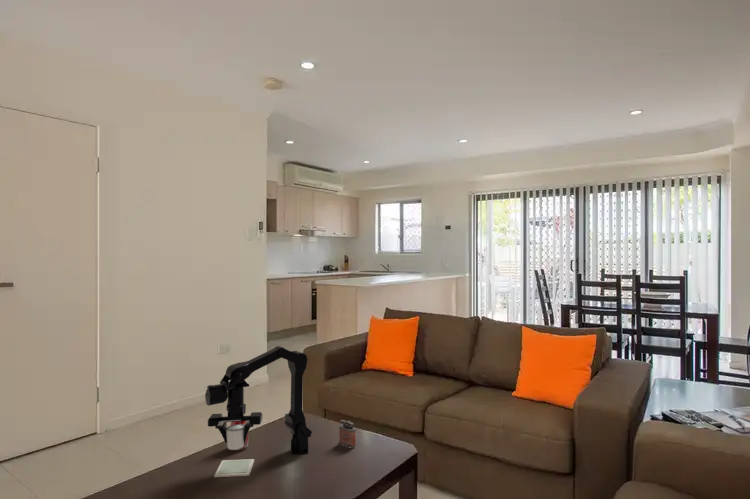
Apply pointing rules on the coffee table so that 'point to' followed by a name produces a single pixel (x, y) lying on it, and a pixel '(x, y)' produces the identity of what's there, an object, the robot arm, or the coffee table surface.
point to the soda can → (247, 435)
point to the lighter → (347, 434)
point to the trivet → (234, 468)
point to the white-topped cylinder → (235, 436)
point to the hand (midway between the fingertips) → (235, 442)
